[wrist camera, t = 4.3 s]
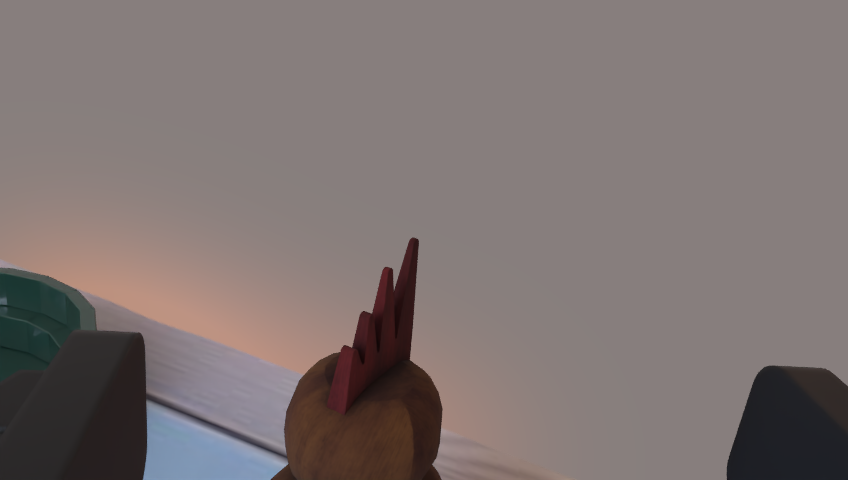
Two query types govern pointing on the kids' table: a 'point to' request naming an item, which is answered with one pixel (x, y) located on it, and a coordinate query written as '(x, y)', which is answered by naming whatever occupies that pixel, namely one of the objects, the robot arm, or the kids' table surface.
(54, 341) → the bowl
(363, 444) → the wooden figurine
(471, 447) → the kids' table surface
